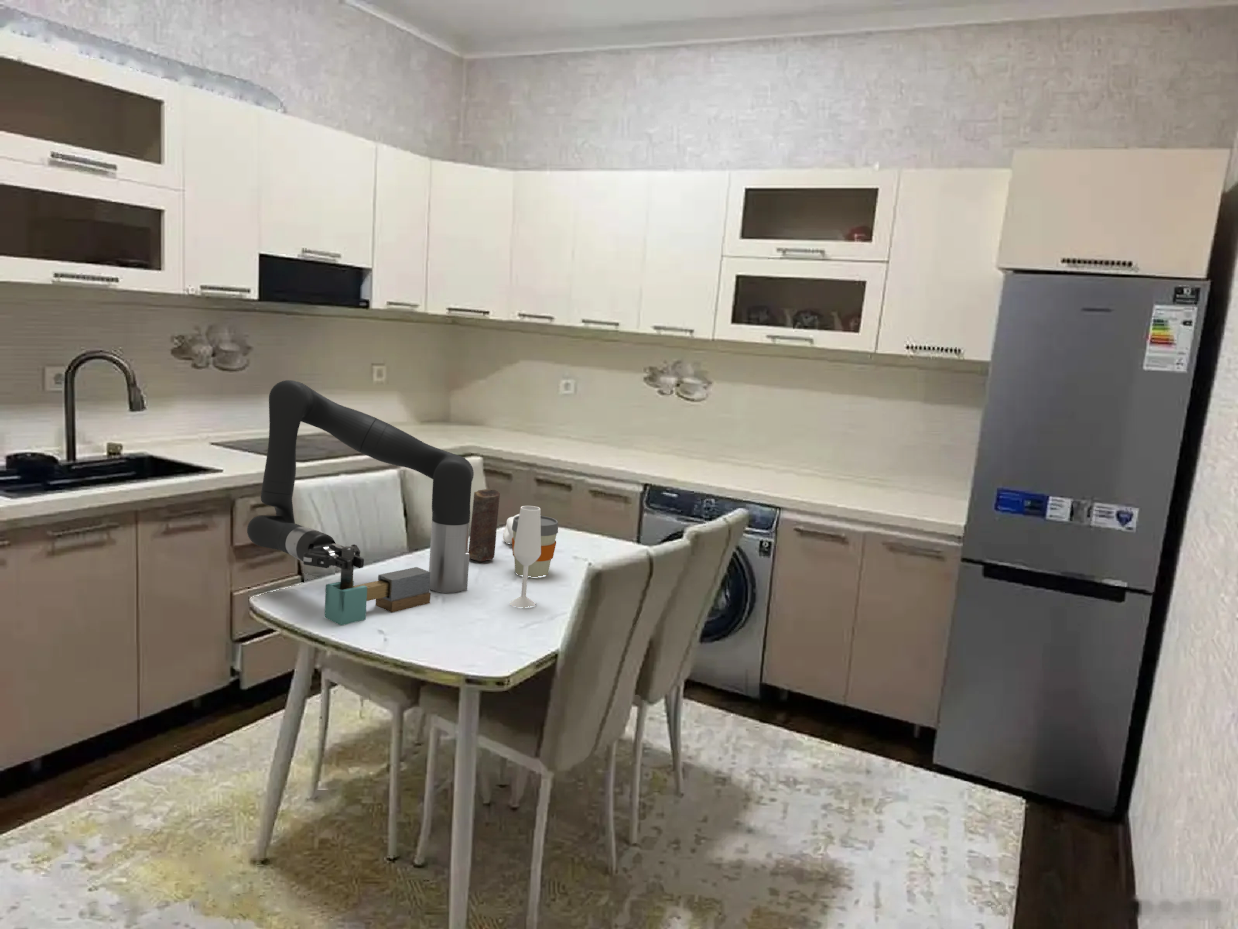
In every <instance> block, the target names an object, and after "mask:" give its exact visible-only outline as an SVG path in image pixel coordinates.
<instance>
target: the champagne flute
mask: <svg viewBox="0 0 1238 929" xmlns="http://www.w3.org/2000/svg"><path fill="white" fill-rule="evenodd" d="M519 514H520V515H519V520H518V526H517V532H516V538H515V543H514V549H513V551H512V555H513V554H514V556H515V558H516V559H517V560H518V561H519V562H520V563H521V564H522V565H523V566H524V567H523V577H522V581H521V592H520V594H521V595H520V597H517V598H515V599H512V600H511V601H509V603H510V604H509V606H511V605H512V606H511V607H513V606H516V607H523V608H525V607H528V606H529V607H530V606H535V603H536V602H535V601H534V600H532V599H531V598H528V596H527V591H528V590H527V588H528V578H527V577H528V566H529V565H531V564H533V563H534V562H535V561H536V560H537V559H538V558H539V557H540V555H541V516H542V515H541V508H540V507H539V506H534V505H522V506H520V509H519ZM514 556H513V557H514ZM534 602H535V603H534Z"/></svg>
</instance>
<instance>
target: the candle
mask: <svg viewBox="0 0 1238 929" xmlns="http://www.w3.org/2000/svg"><path fill="white" fill-rule="evenodd" d="M500 495H501V492H500V491H498V490H496V489H490V488H483V489H478V490H476V491H474V492H473V502H472V512H471V520H470V521H471V523H470V531H469V540H468V552H469V560H471V559H472V560H473V561H475V562H479V563H480V562H485V561H490V560H493V559H494V558H495V554H496V553H495V552H496V543H497V542H496V540H497V529H498V521H499V520H498V519H499V508H500V499H501V498H500V497H501V496H500Z"/></svg>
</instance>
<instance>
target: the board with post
mask: <svg viewBox="0 0 1238 929" xmlns="http://www.w3.org/2000/svg"><path fill="white" fill-rule="evenodd" d="M350 546H351V545H350ZM350 546H349V545H348V546H346V545H345V546H344V547H342V557H343V558H345V559H348V560H350V561H351V569H350V570H348V571H346V570H344V569H341V568H340V580H339V582H340V590H344V589H349V588H354V587H359V586H363V585H364V586H367V602H369V601H373V600H374V601H375V600H376V599H378V598H383V597H387V596H389V595H390V582H388V581H386V580H379V581H378V580H375V581H371V582H365V583H360V584H357V585H353V581H354V567H355V566H354V547H350Z"/></svg>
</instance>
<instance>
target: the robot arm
mask: <svg viewBox="0 0 1238 929" xmlns="http://www.w3.org/2000/svg"><path fill="white" fill-rule="evenodd" d="M268 414H269V415H268V416H269V418H268V419H269V420H268V421H269V429H268V430H269V431H268V444H267V445H268V446H267V453H266V460H265V465H264V467H265V468H264V472H263V479H262V485H261V487H262V488H261V493H260V502H262V504H264V505H266V506H270V507H274V511H275V515H269V514H266V515H264V514H263V515H257V516H254V517H253V518H252V519H250V521H249V522H248V524H247V526H246V527H247V528H246V532H247V533H246V534H247V537H248V539H249V540H250V541H251V542H252V543H253V544H254V545H257V546H259V547H262V548H266V549H267V548H268V549H271V550H272V549H273V550H278V551H282V552H284V553H286V554H288V555H290V556H292V557H293V558H294V559H297V560H299V561H300V562H303V563H302V564H303V565H305V566H310V567H316V568H324V569H329V568H330V567H332V568H335V569H336V568H339V569H340V570H341V569H344V570H346V571H348V570H350V569H351V561H350V560H348V559H345V558H343V557H342V547H345V546H343V545H340V544H338V543H336V541H335V540H334V538H333V537H332V536H331V535H329V534H326V533H324V532H321V531H319V530H316V529H313V528H311V527H305V526H303V525H302V524H301V525H300V524H299V523H295V515H294V514H295V513H294V506H293V494H294V488H295V482H296V476H297V475H296V474H297V473H296V472H297V451H296V450H297V440H298V435H299V434H298V433H299V429H300V425H301V423H304V424H307V425H310V426H313V427H315V428H317V429H320V430H322V431H324V432H326V433H328V434H330V435H331V436H332V437H334V438H335V439H337V440H338V441H340V442H341V443H343V444H345V445H346V446H347V447H348V448H349V447H350V448H351V449H353V450H354V451H356V452H359V453H361V454H363V455H364V456H367V457H369V458H372V459H373V460H375V461H379V462H381V463H385V464H389V465H393V466H398V467H401V468H405V469H406V468H407V469H410V470H413V471H415V472H418V473H420V474H421V475H423V476H426V477H427V478H430V479H431V480H432V489H431V490H432V492H431V493H432V495H431V528H430V529H431V531H430V532H431V533H430V545H429V546H430V548H429V549H430V550H429V562H428V571H429V572H430V588H429V590H431V591H433V592H437V593H442V594H445V593H447V594H451V593H459V592H463V591H468V582H469V581H468V580H469V567H470V566H469V565H470V558H469V552H468V550H469V539H470V524H471V523H470V521H471V499H472V498H471V496H472V484H473V480H474V475H475V474H474V473H475V472H474V468H473V466H472V464H471V462H470V461H469V460H468V459H466V458H465V457H464V456H461V455H458V454H456V453H452V452H449V451H447V450H444V449H441V448H438V447H435V446H433V445H431V444H428V443H426V442H424V441H423V440H420V439H419V438H417V437H414V436H413V435H411V434H409V433H407V432H405V431H404V430H402V429H400V428H397V427H396V426H394V425H392V424H390V423H388V422H386V421H383V420H381V419H379V418H378V417H375V416H372V415H369V414H367V413H365V412H362V411H359V410H357V409H353V408H351V407H347V406H344V405H342V404H341V405H340V404H339V403H337V402H335V401H333V400H331V399H329V398H327V397H325V396H324V395H322V394H320V393H319V392H317V391H315V390H313V388H310V386H308V385H306V384H304V383H303V382H300V381H296V380H290V379H286V380H282V381H278V382H277V383H276V384H274V386H273V387H272V388H271V389H270V391H269V395H268ZM350 547H354V567H356V568H358V569H363V568H364V565H365V564H364V563H365V559H364V558H363V557H361V550H360V548H359V546H358V545H357V544H351V545H350Z"/></svg>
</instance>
